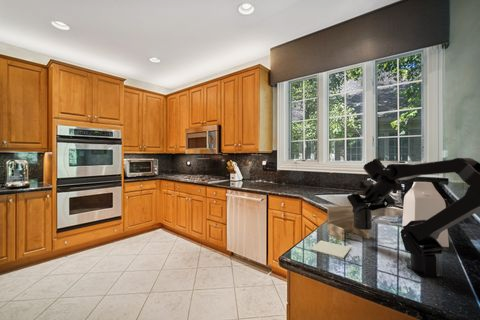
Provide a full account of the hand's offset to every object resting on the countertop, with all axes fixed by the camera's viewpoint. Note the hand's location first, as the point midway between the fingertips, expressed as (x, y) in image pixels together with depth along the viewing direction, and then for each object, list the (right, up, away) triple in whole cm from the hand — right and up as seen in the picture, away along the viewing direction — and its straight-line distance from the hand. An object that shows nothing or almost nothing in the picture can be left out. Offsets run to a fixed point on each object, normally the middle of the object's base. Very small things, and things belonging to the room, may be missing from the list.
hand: (360, 211), depth 92 cm
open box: (-1, -13, +8) cm, 16 cm away
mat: (-16, -13, -7) cm, 22 cm away
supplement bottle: (0, -7, -2) cm, 7 cm away
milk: (+29, -14, +2) cm, 32 cm away
